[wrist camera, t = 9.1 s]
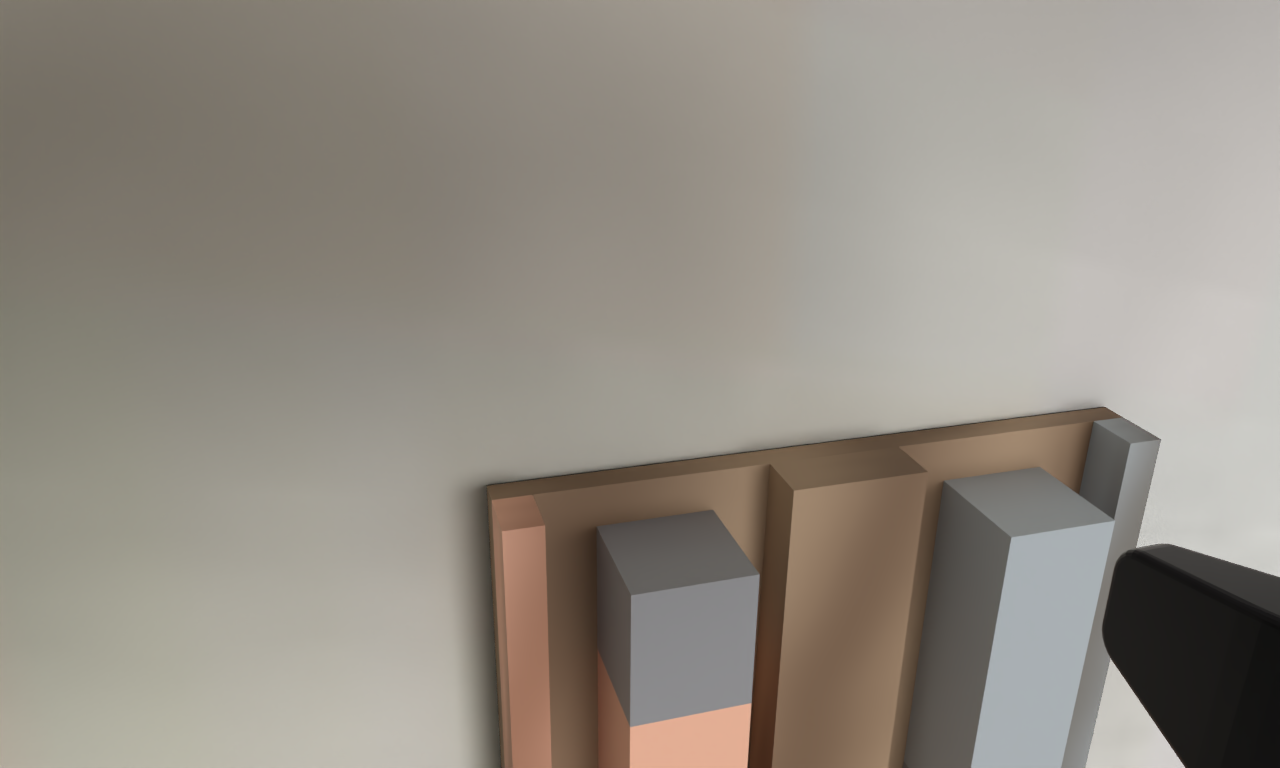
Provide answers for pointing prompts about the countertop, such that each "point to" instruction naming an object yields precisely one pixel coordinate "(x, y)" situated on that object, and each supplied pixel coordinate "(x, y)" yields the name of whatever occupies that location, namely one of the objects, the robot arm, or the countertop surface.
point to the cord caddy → (790, 578)
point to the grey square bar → (1006, 622)
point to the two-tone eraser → (674, 643)
